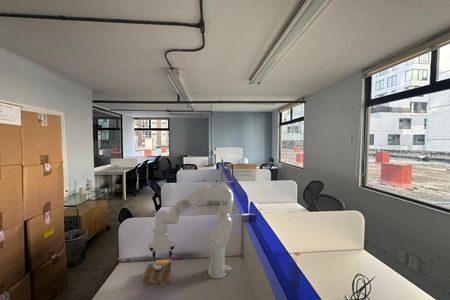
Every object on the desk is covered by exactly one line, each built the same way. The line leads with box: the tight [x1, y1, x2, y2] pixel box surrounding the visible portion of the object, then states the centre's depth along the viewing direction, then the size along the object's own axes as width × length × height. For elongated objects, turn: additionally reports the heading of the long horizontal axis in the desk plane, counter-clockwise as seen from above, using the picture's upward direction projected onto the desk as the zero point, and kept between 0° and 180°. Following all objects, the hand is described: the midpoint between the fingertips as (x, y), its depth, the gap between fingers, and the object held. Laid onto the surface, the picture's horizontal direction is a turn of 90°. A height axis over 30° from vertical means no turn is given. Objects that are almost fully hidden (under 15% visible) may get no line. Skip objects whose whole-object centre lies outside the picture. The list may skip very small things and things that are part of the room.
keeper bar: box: [155, 259, 171, 265], centre depth 135 cm, size 9×3×1 cm, turn 97°
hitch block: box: [142, 257, 174, 287], centre depth 135 cm, size 16×12×11 cm
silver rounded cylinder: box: [153, 261, 163, 272], centre depth 135 cm, size 6×6×9 cm
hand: (162, 256), depth 134 cm, fingers open, 9 cm apart
